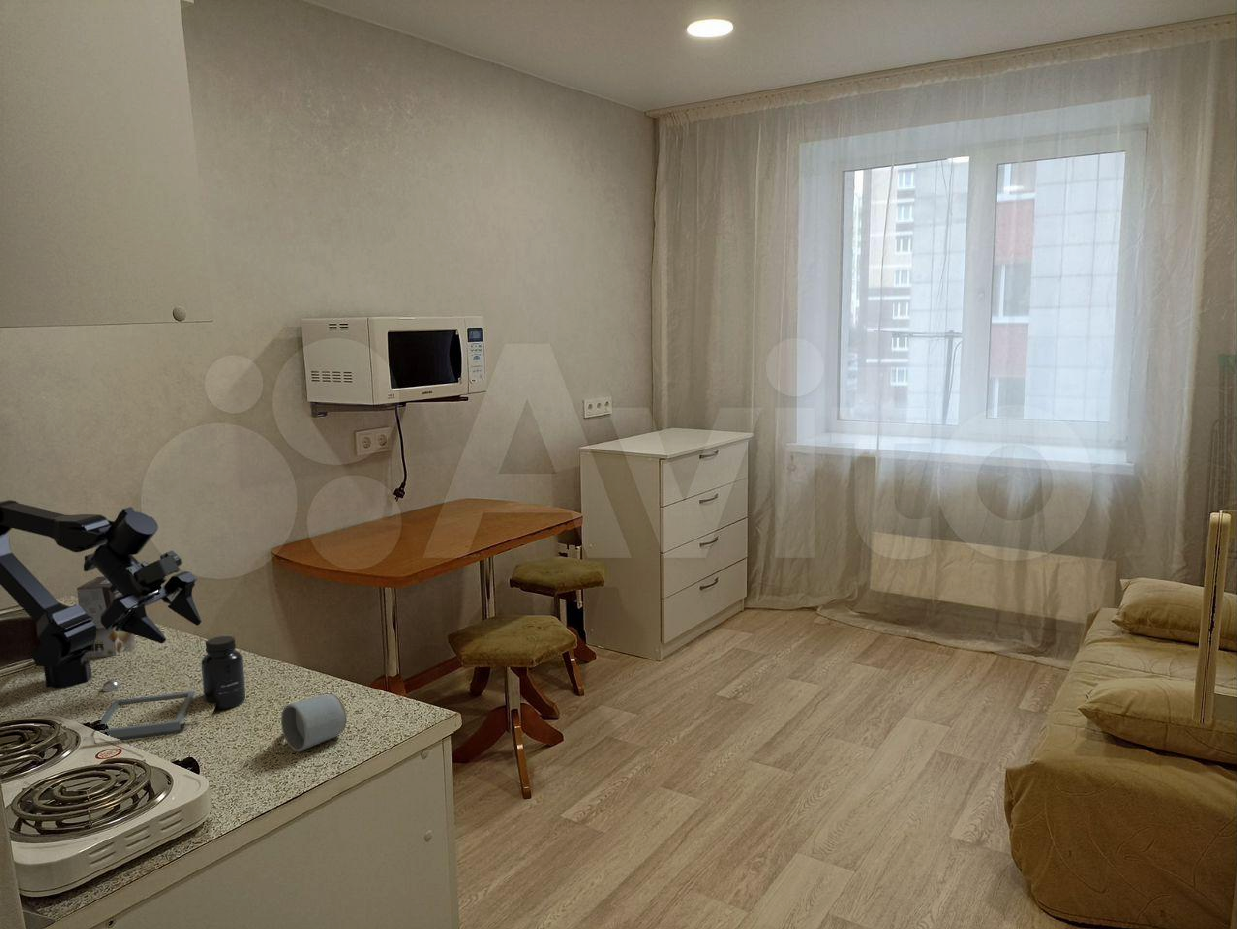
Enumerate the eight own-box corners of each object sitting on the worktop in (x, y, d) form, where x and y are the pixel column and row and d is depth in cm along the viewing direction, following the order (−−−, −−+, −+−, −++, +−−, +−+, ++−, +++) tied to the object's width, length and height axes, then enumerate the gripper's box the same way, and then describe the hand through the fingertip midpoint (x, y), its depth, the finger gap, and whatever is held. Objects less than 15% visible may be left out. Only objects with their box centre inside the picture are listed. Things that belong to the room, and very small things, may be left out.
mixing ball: (101, 700, 162) (99, 684, 162) (105, 693, 165) (104, 678, 165) (119, 698, 163) (117, 682, 163) (123, 691, 166) (121, 676, 165)
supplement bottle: (230, 712, 156) (224, 648, 154) (196, 710, 157) (190, 646, 155) (254, 696, 163) (248, 634, 161) (221, 694, 164) (215, 632, 162)
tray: (94, 744, 145) (93, 732, 145) (116, 710, 158) (115, 700, 157) (180, 732, 149) (179, 721, 148) (195, 701, 161) (194, 690, 161)
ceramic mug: (351, 738, 146) (348, 694, 144) (307, 757, 139) (302, 711, 138) (315, 722, 152) (311, 679, 151) (271, 740, 146) (267, 695, 145)
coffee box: (117, 662, 180) (108, 587, 178) (84, 664, 180) (75, 588, 177) (137, 646, 189) (128, 574, 187) (105, 648, 189) (96, 575, 186)
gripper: (106, 555, 149) (169, 621, 148) (183, 529, 167) (239, 588, 166) (73, 597, 152) (135, 662, 151) (152, 567, 170) (207, 625, 169)
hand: (182, 632), depth 160 cm, fingers open, 9 cm apart
